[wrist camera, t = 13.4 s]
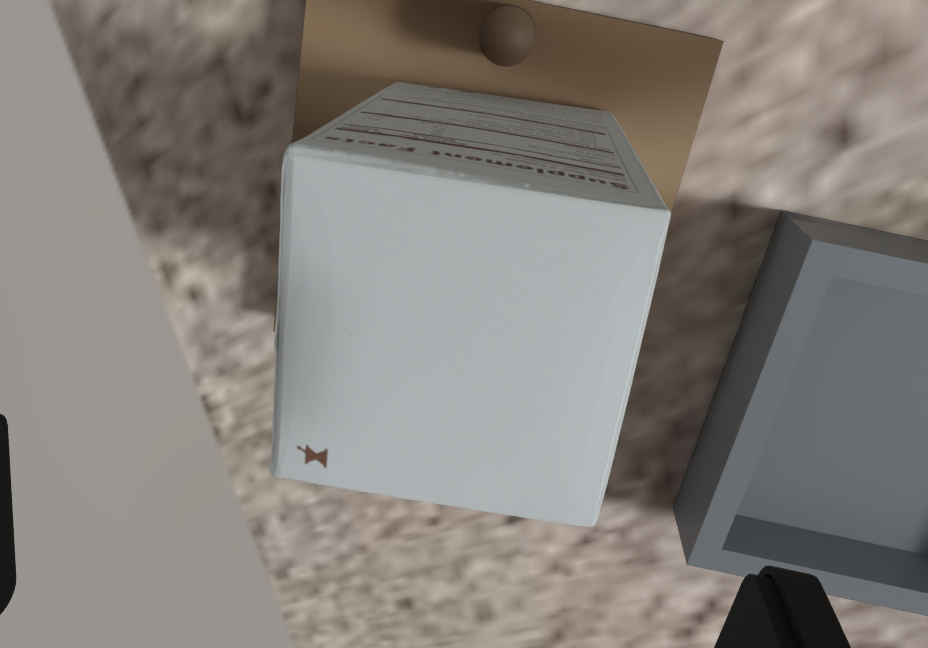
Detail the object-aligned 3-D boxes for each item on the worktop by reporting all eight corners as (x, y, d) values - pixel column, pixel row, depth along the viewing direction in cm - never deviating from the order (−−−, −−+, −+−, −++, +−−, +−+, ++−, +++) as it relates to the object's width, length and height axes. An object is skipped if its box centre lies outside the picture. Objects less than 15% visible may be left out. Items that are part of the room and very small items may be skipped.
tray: (781, 210, 28) (812, 239, 25) (1147, 286, 28) (1226, 326, 24) (672, 508, 33) (687, 564, 30) (980, 573, 33) (1027, 637, 30)
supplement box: (575, 316, 28) (597, 545, 17) (371, 282, 29) (255, 485, 17) (620, 106, 25) (685, 210, 14) (393, 70, 26) (270, 142, 14)
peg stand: (322, -44, 26) (286, -48, 22) (713, 38, 26) (742, 47, 22) (285, 315, 31) (250, 360, 27) (610, 384, 31) (619, 437, 27)
